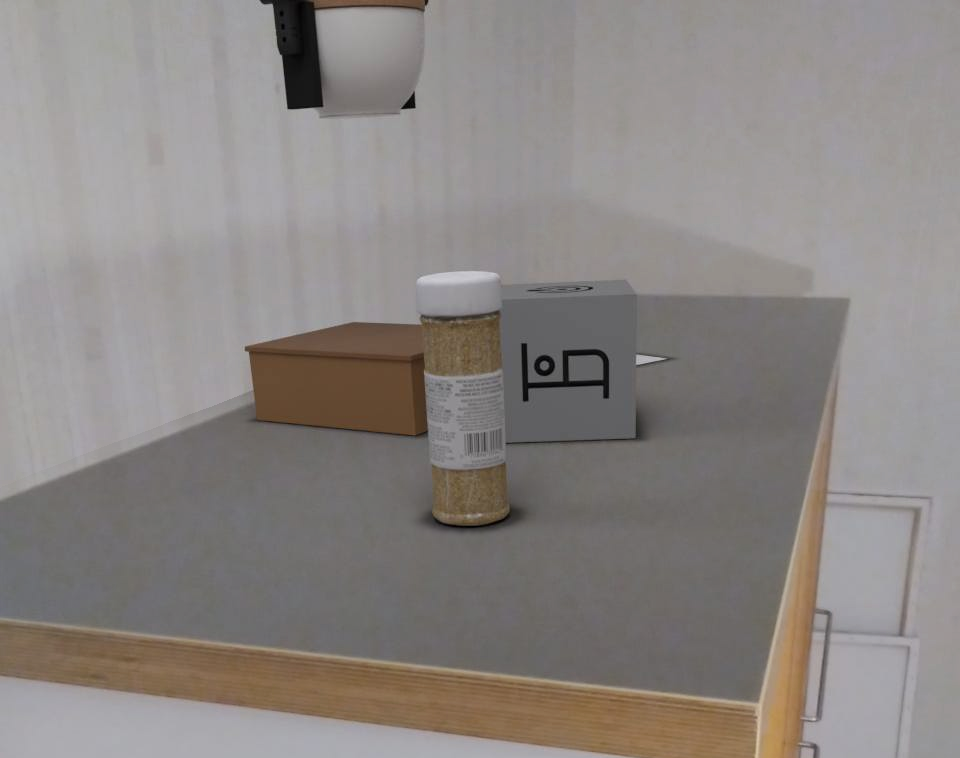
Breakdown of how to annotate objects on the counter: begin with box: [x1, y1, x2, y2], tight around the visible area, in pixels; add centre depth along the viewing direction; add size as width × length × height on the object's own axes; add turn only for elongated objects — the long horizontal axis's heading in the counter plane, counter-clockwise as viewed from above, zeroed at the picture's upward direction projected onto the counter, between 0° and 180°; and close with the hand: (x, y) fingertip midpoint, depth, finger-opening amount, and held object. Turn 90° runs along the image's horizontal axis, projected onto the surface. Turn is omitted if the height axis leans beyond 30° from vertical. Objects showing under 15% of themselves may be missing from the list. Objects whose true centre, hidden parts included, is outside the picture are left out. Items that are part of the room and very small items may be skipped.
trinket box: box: [300, 0, 426, 120], centre depth 82 cm, size 11×11×9 cm
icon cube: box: [499, 279, 638, 444], centre depth 84 cm, size 10×10×10 cm
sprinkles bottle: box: [415, 270, 511, 527], centre depth 62 cm, size 5×5×13 cm
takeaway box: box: [244, 321, 428, 437], centre depth 93 cm, size 16×14×6 cm
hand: (354, 109), depth 84 cm, fingers closed on trinket box, 11 cm apart
